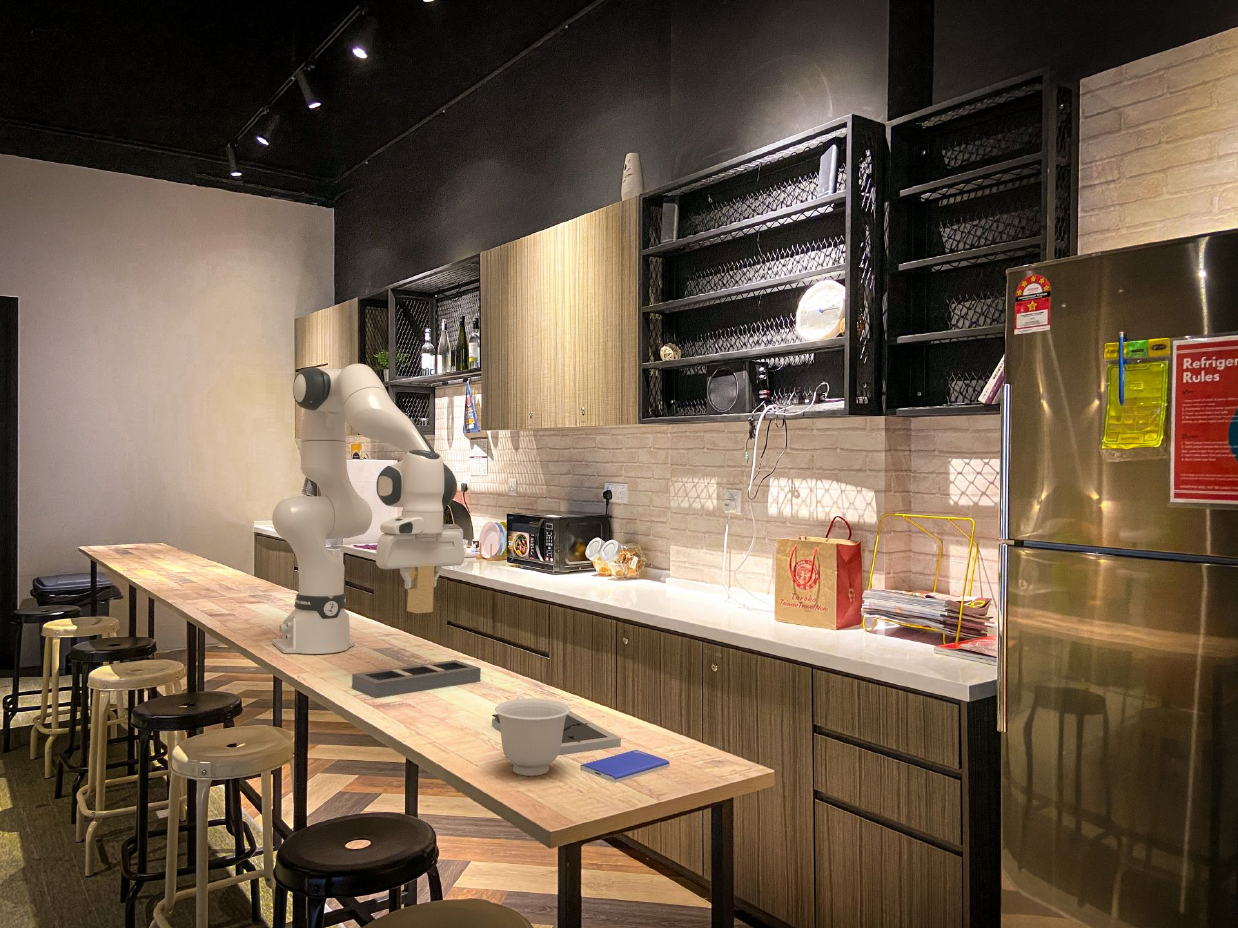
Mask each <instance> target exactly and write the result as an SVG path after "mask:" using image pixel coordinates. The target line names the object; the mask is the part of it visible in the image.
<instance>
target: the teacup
mask: <svg viewBox="0 0 1238 928" xmlns="http://www.w3.org/2000/svg"><path fill="white" fill-rule="evenodd" d="M494 711H495V713H497V714H498V715H499V719H500V726H501V732H500V735H501V745H502V746H501V747H502V752H503V755H504V757H505V758H506V759H507V761H509V762H510V763H511V764H513V768H512V771H513V773H515V774H518V775H521V776H525V777H526V776H527V777H533V776H535V777H536V776H543V775H545V774H547V773H548V772H549V770H550V767H549V765H550V764H551V763H553V762H554V761H555V760H556V759H557V758H558V756H559V755H558V754H559V752H560V748H561V743H562V736H563V729H564V723H565V719H566V716H567V714H568V713H569V712H570V711H571V708H570V707H569V706H568V704H566V703H564V702H561V701H558V700H553V699H546V698H525V697H523V696H522V697H521V696H520V697H517V698H516V699H511V700H507V701H503V702H501V703H499V704H498V705H496V706H495V709H494Z"/></svg>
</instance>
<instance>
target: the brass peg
mask: <svg viewBox="0 0 1238 928" xmlns="http://www.w3.org/2000/svg"><path fill="white" fill-rule="evenodd" d="M408 574H409V576H410V578H411V580H413V581H415V584H414V586H415V587H414V589H407V599H406V600H407V603H406V604H407V606H406V611H407V612H410V613H414V614H423V613H424V614H426V613H433V612H434V589H435V587H434V566H422V567H417V568H411V573H408Z"/></svg>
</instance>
